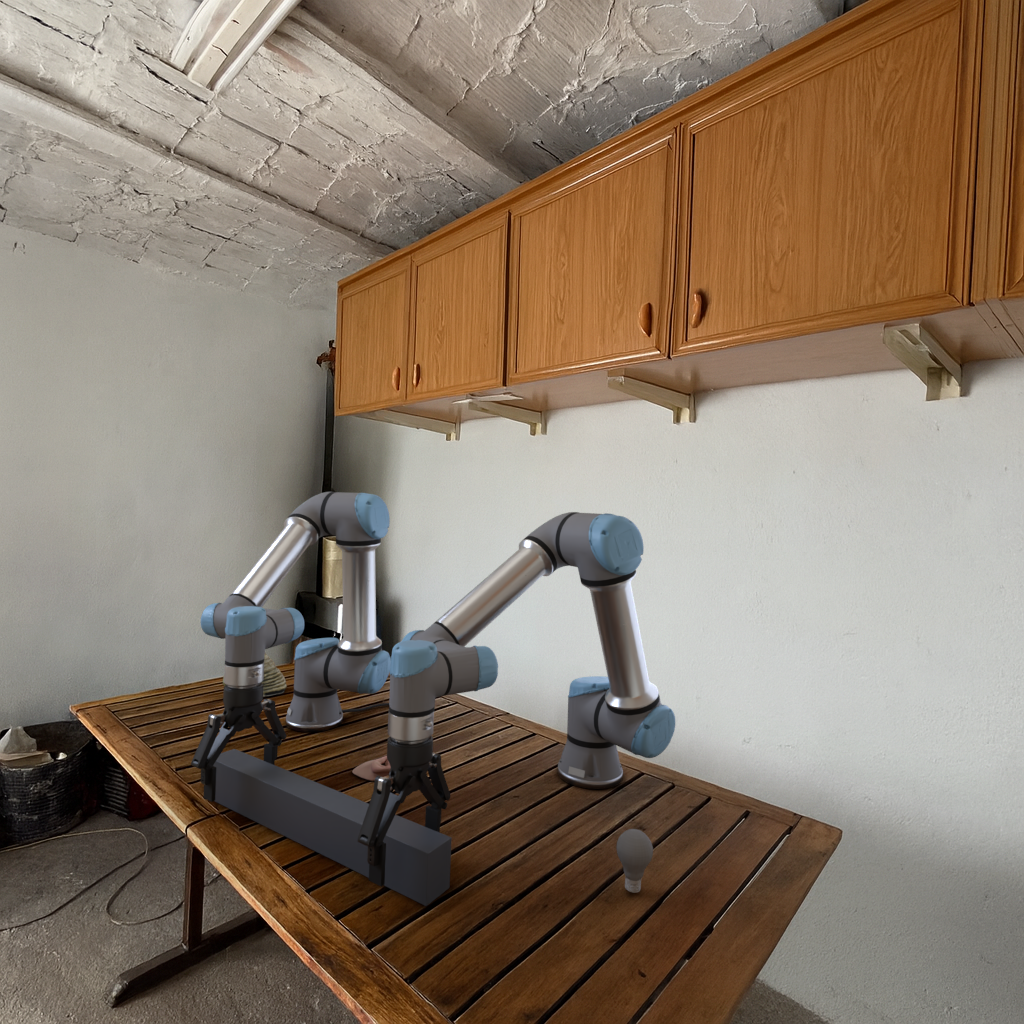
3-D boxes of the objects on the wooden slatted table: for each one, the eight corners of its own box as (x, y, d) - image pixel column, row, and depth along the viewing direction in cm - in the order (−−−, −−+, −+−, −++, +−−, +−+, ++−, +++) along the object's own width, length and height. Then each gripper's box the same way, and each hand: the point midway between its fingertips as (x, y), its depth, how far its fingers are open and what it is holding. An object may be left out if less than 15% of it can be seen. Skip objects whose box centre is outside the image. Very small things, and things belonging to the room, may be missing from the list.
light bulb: (610, 879, 108) (613, 822, 108) (644, 879, 109) (647, 822, 109) (619, 902, 102) (622, 840, 102) (655, 901, 103) (658, 840, 103)
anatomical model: (346, 759, 143) (368, 741, 154) (346, 777, 143) (367, 757, 154) (402, 767, 140) (420, 748, 152) (401, 785, 140) (419, 764, 152)
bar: (206, 797, 131) (208, 757, 131) (233, 787, 136) (234, 748, 136) (426, 906, 99) (428, 853, 99) (449, 887, 104) (451, 837, 104)
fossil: (218, 695, 195) (220, 647, 195) (278, 685, 208) (279, 640, 207) (228, 703, 189) (230, 653, 188) (289, 692, 201) (290, 645, 201)
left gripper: (196, 702, 117) (192, 816, 117) (305, 674, 138) (302, 771, 138) (173, 694, 121) (170, 804, 121) (283, 668, 142) (279, 762, 142)
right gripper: (372, 766, 93) (367, 910, 93) (473, 720, 113) (468, 838, 114) (337, 753, 97) (332, 891, 97) (440, 711, 117) (435, 825, 118)
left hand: (240, 787), depth 130 cm, fingers open, 13 cm apart
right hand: (405, 863), depth 105 cm, fingers open, 13 cm apart
